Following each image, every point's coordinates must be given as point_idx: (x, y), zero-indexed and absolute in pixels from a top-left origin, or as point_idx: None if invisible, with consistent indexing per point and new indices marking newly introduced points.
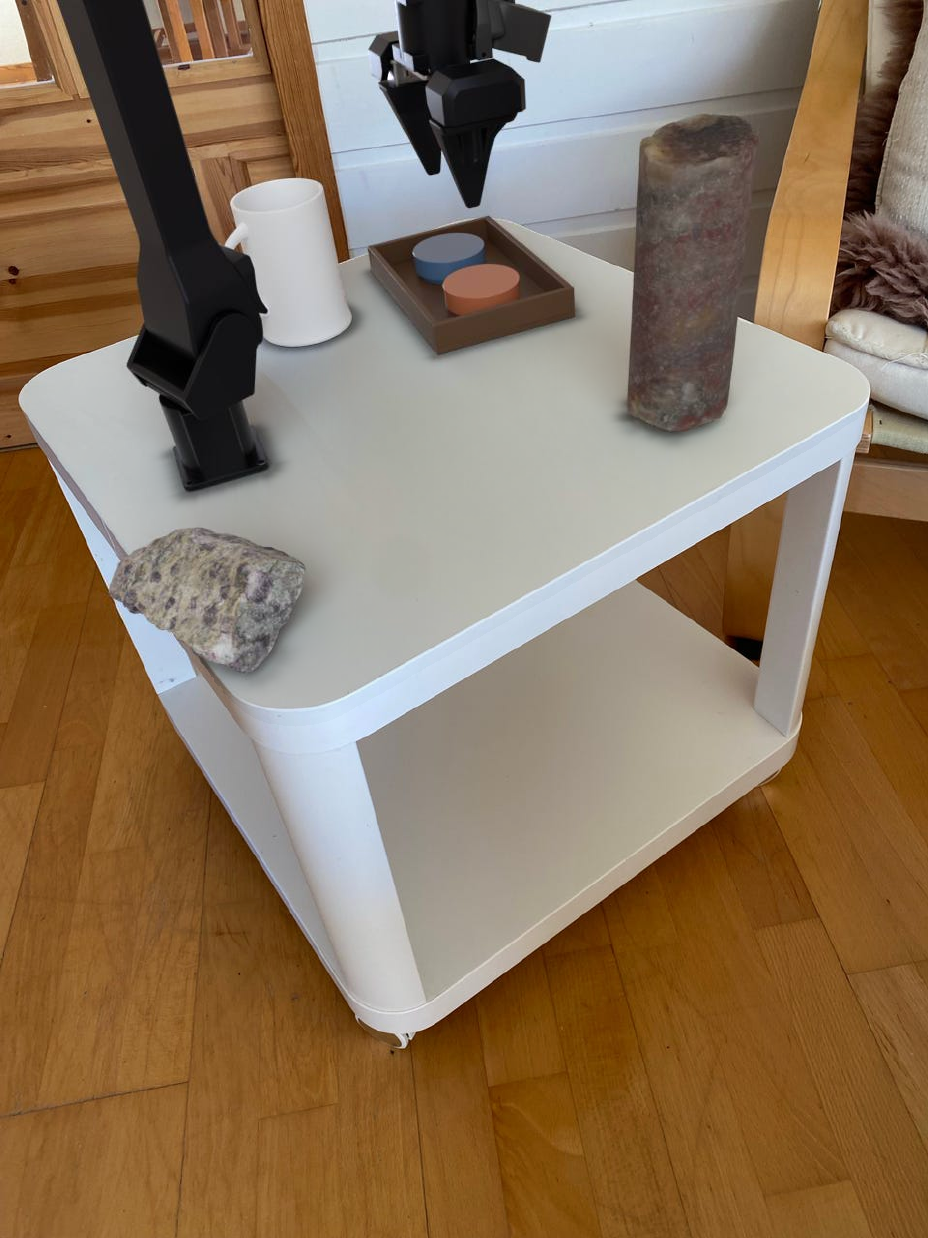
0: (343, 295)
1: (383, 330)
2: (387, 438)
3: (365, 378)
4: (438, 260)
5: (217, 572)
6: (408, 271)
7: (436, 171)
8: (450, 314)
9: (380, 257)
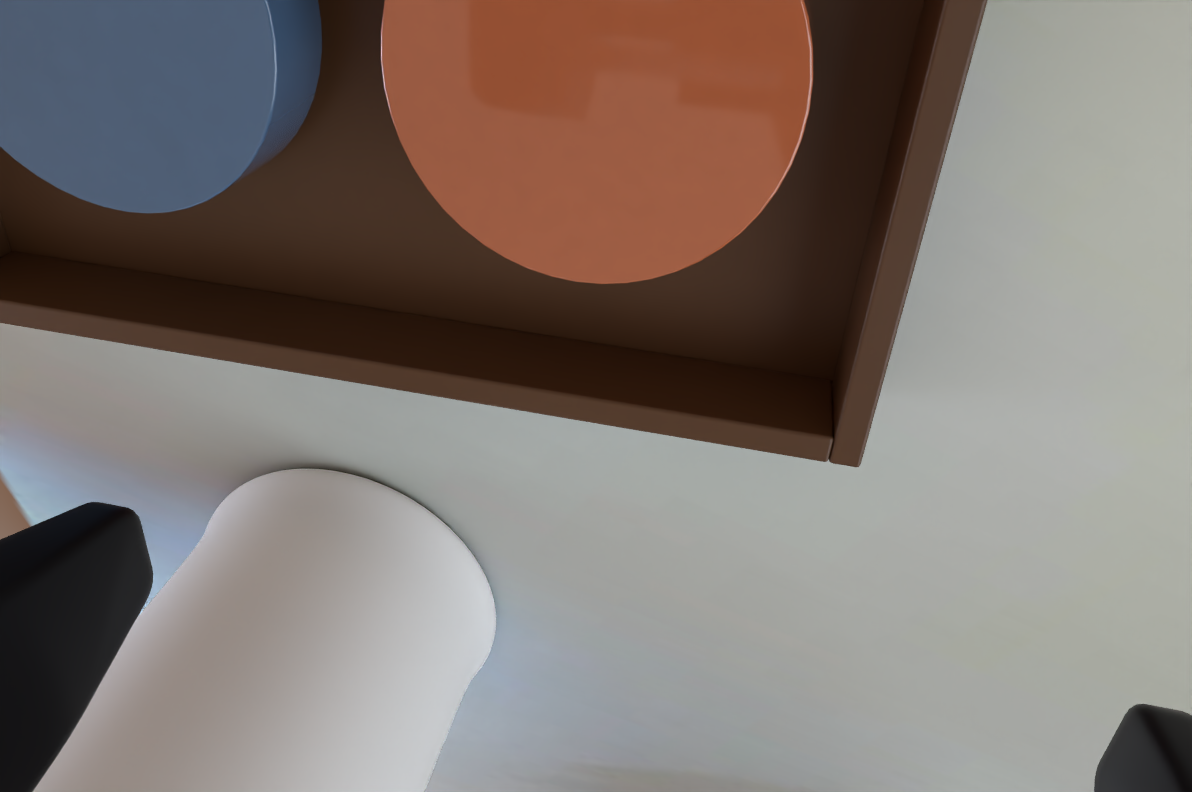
0: (361, 566)
1: (527, 442)
2: None
3: (816, 621)
4: (230, 145)
5: None
6: None
7: (130, 543)
8: None
9: (67, 321)
